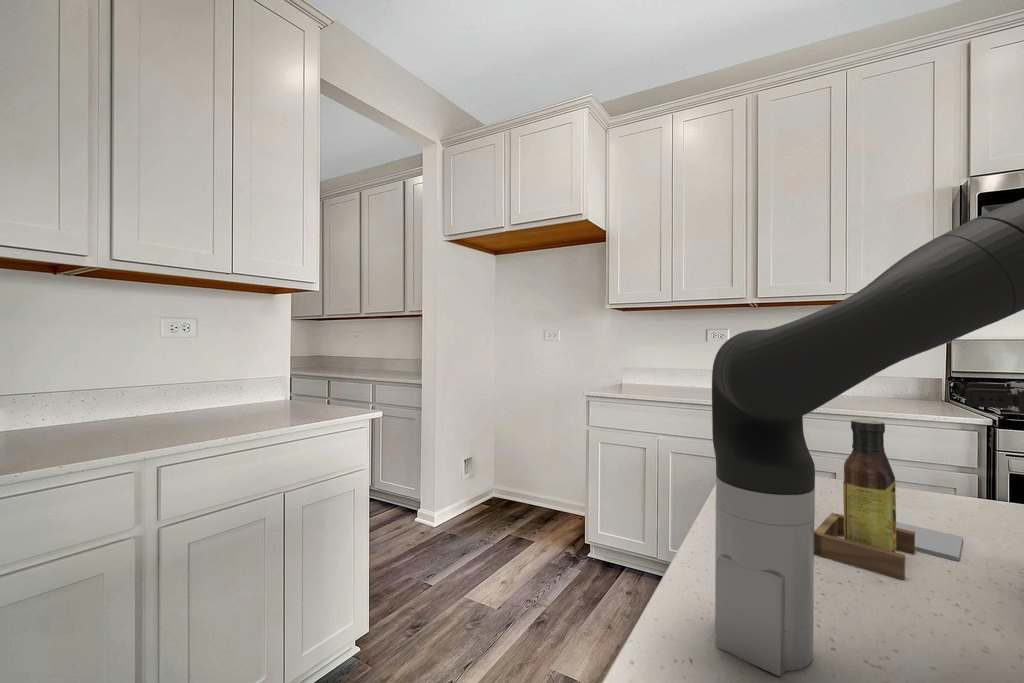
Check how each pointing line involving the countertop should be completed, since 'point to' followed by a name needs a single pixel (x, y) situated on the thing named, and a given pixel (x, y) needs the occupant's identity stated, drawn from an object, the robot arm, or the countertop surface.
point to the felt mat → (935, 542)
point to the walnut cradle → (862, 548)
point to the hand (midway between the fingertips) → (966, 393)
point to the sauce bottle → (869, 489)
